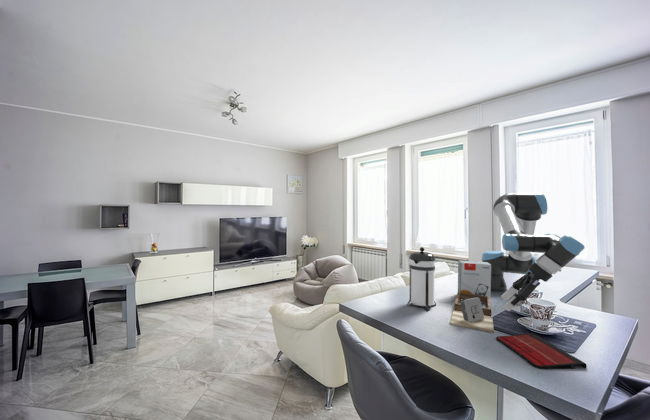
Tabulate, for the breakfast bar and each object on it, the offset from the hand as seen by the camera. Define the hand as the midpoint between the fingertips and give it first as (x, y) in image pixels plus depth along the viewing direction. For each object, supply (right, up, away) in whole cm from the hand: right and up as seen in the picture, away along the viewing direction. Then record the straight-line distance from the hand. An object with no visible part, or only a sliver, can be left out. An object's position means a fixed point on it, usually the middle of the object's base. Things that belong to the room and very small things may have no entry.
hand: (504, 303), depth 117 cm
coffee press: (-27, -9, +24) cm, 37 cm away
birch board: (-12, -9, +3) cm, 16 cm away
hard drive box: (+7, -10, +37) cm, 39 cm away
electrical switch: (-12, -8, +4) cm, 15 cm away
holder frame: (-2, -9, +22) cm, 24 cm away
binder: (-4, -10, -22) cm, 24 cm away
